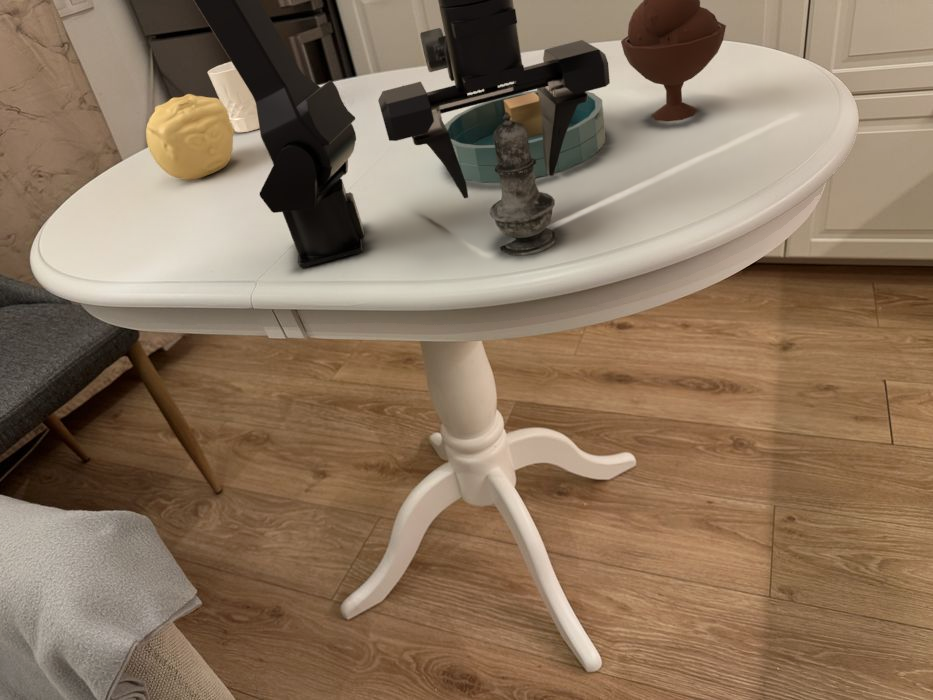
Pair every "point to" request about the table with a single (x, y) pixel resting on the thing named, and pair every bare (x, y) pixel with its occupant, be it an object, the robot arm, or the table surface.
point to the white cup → (235, 97)
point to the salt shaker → (520, 194)
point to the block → (526, 112)
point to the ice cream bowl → (672, 48)
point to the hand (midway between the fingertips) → (507, 185)
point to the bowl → (480, 122)
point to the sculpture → (190, 136)
